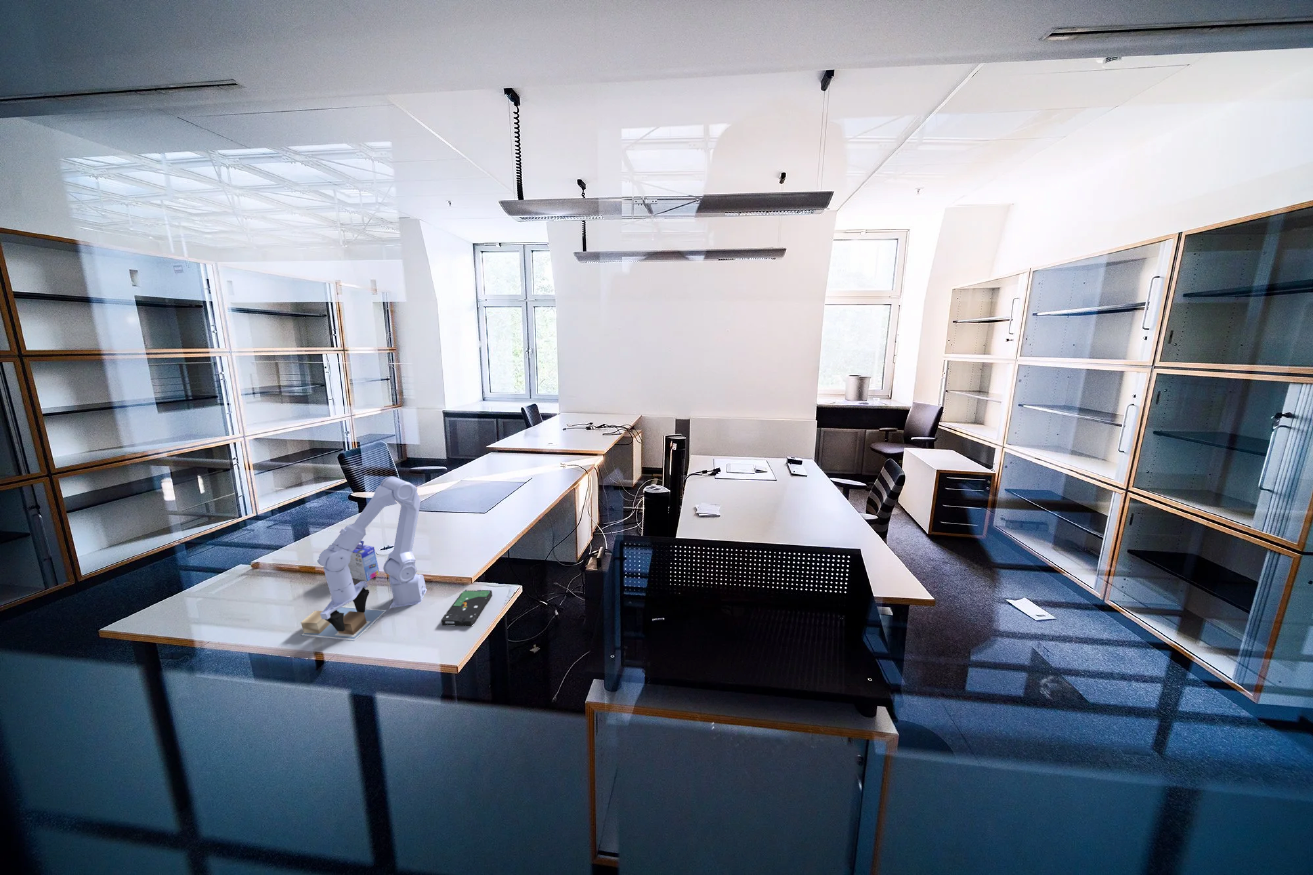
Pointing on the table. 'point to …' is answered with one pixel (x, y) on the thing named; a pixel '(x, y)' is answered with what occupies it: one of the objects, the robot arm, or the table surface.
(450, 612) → the disk drive
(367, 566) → the ink cartridge box
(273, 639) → the table surface
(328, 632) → the mat
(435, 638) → the table surface
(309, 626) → the maple block
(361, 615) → the walnut block
